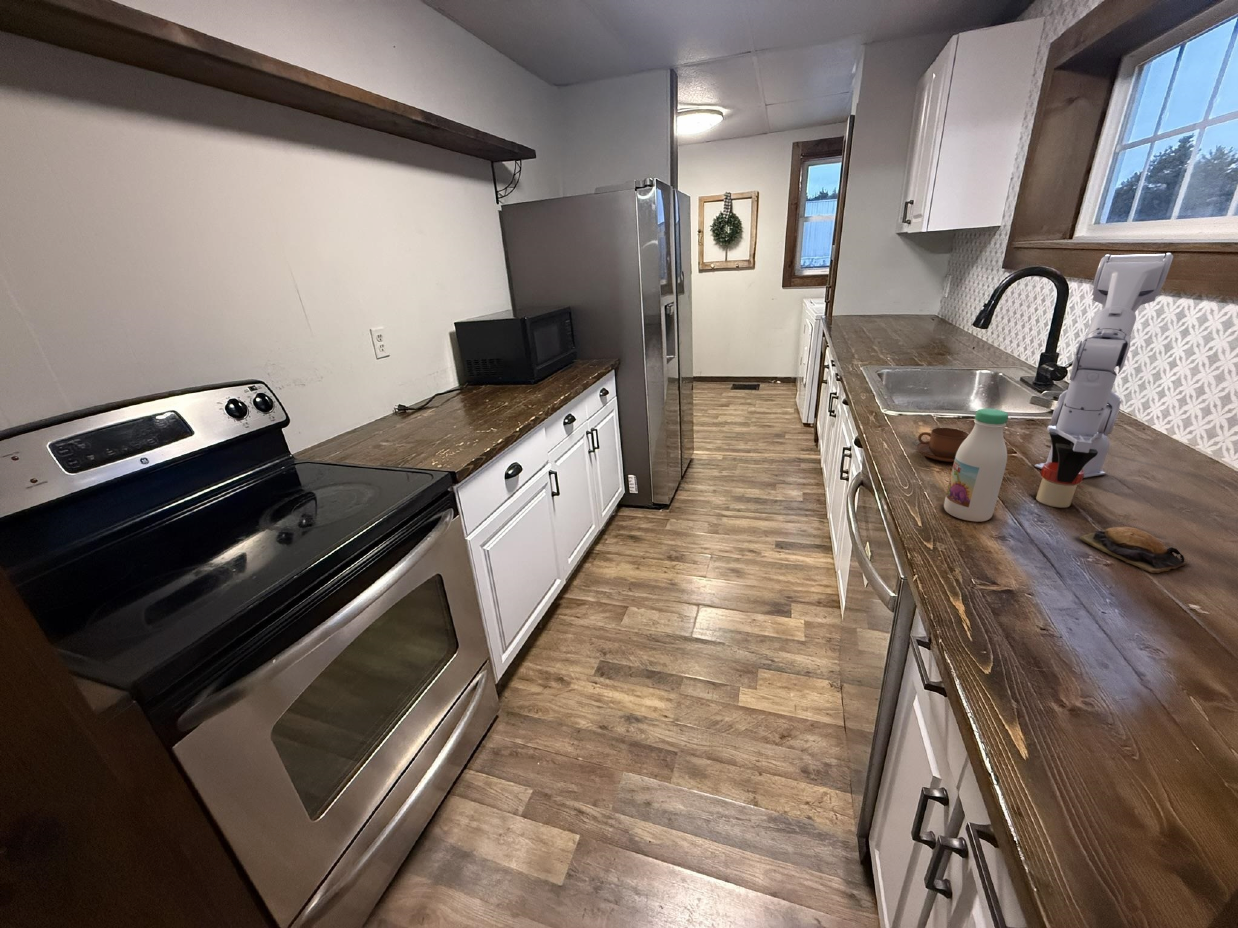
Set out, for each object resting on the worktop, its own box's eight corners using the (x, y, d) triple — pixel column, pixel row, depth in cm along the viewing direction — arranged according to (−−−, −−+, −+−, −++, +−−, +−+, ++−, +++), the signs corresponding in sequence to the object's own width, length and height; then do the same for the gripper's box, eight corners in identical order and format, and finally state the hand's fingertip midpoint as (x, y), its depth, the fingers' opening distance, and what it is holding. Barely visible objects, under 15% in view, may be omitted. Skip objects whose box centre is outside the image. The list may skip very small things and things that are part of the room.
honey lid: (1041, 480, 94) (1044, 470, 93) (1039, 469, 99) (1042, 459, 98) (1083, 487, 91) (1086, 477, 90) (1079, 475, 95) (1083, 465, 95)
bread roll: (1074, 540, 84) (1080, 521, 83) (1111, 531, 86) (1118, 513, 85) (1151, 575, 75) (1159, 554, 73) (1191, 564, 76) (1200, 544, 75)
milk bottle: (984, 505, 96) (1011, 406, 89) (997, 525, 90) (1027, 419, 82) (938, 501, 99) (960, 404, 91) (948, 519, 92) (973, 416, 84)
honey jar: (1048, 493, 100) (1058, 464, 97) (1077, 504, 95) (1088, 474, 93) (1029, 497, 98) (1038, 468, 96) (1057, 509, 94) (1067, 478, 91)
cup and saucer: (919, 463, 116) (924, 438, 114) (912, 446, 126) (917, 423, 124) (980, 469, 112) (986, 443, 110) (968, 450, 122) (974, 426, 120)
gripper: (1049, 394, 97) (1030, 459, 102) (1061, 414, 86) (1039, 485, 91) (1097, 398, 94) (1075, 464, 99) (1116, 419, 82) (1090, 493, 87)
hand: (1061, 475), depth 95 cm, fingers closed on honey lid, 6 cm apart
